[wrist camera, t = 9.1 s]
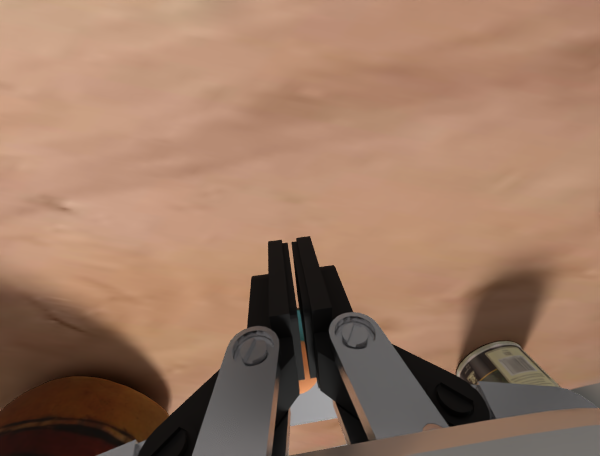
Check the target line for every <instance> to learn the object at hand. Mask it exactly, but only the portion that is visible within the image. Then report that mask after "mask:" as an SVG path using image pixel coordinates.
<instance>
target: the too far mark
mask: <svg viewBox="0 0 600 456" xmlns="http://www.w3.org/2000/svg"><path fill="white" fill-rule="evenodd" d="M290 409H291V420H290V426H294V425H300V424H306V423H311V422H317V421H323V420H329V419H334V418H337V415H336V412H335V409H334V407H333V402H332V399H331V398H330V397H328V396H327V395H325V394H324V393H323V392H321V391H320V388H318V384H317V382H316V383H315V385H314V386H313V387H312V388H311V389H310V390H308V391H307V392H305V393H302V394H300V395H299V396H298V397H297V399H296V400H295V401H294V403H293V404H292V406H291V407H290Z"/></svg>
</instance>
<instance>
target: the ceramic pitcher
mask: <svg viewBox="0 0 600 456" xmlns="http://www.w3.org/2000/svg"><path fill="white" fill-rule="evenodd" d="M168 417H169V415H168V413H167V412H166V410H164V409H163V408H162V407H161V406H160V405H159V404H157V403H156V402H154V401H153V400H152V399H150V398H149V397H147V396H145V395H144V394H142V393H140V392H138V391H136V390H134V389H132V388H130V387H127V386H125V385H122V384H118V383H116V382H113V381H110V380H106V379H102V378H96V377H87V376H71V377H65V378H60V379H56V380H52V381H49V382H47V383H44V384H42V385H40V386H38V387H36V388H33V389H31V390H29V391H27V392H25V393H24V394H22V395H20V396H19V397H17V398H16V399H15V400H13V401H12V402H11V403H9V404H8V405H7V406H6V407H5V408H3V409H2V410H1V411H0V456H97V455H99V454H102V453H104V452H106V451H109V450H111V449H114V448H116V447H119V446H121V445H124V444H126V443H128V442H131V441H133V440H136V441H137V442H138V443H140V442H142V441H145V440H147V438H148V437H149V436H150V435H151V434H152V433H153V431H154V430H155V429H156V428H157V427H158V426H159V425H160V424H161V423H163V422H164V421H165V420H166V419H167V418H168Z"/></svg>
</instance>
